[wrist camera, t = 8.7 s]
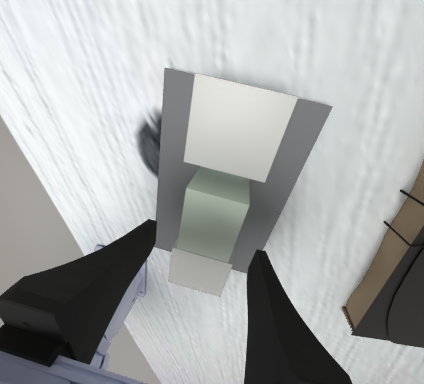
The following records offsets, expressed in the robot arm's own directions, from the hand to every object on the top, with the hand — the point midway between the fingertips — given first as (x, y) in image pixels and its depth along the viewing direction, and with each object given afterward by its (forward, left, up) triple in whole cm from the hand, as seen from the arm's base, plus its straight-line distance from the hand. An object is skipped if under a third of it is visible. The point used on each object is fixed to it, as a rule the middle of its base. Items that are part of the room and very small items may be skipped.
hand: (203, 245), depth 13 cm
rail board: (0, 0, -8) cm, 8 cm away
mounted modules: (0, 0, -8) cm, 8 cm away
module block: (0, 0, -7) cm, 7 cm away
